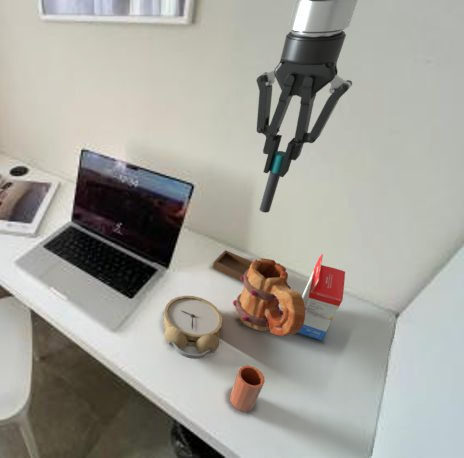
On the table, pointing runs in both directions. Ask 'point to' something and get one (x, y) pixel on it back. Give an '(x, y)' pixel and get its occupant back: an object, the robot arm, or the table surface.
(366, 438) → the table surface
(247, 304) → the mug
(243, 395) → the pen pot
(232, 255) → the pen tray
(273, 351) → the table surface
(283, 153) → the marker
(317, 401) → the table surface
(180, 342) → the alarm clock
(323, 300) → the ink box
